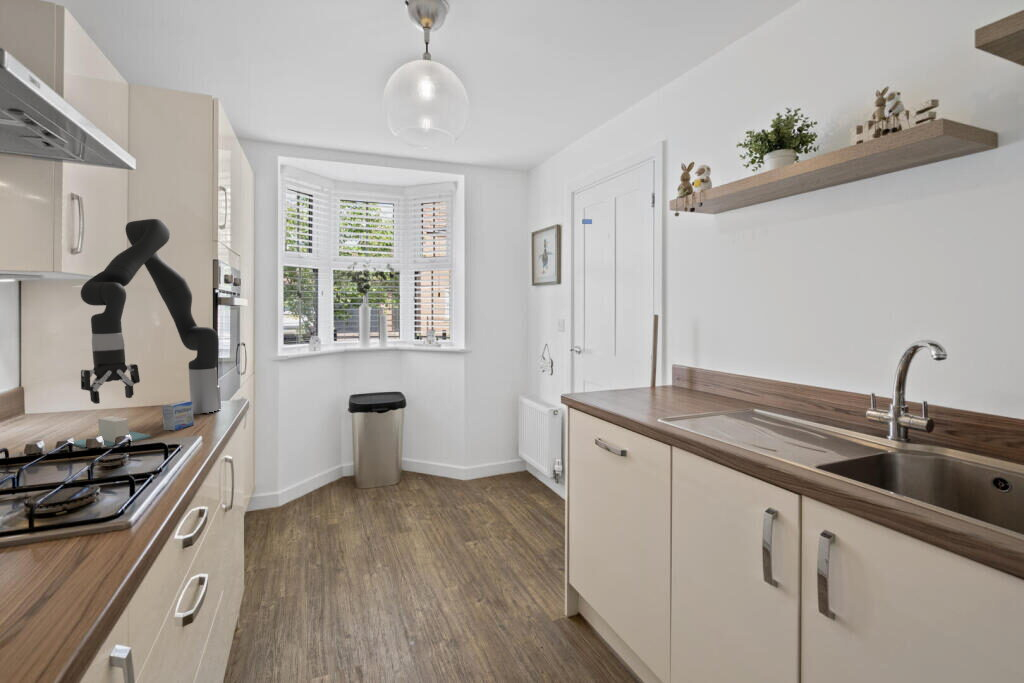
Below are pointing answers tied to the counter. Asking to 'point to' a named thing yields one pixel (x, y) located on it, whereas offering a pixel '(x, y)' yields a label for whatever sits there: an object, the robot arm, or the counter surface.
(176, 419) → the medicine box
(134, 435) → the mat
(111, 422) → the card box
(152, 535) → the counter surface
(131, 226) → the robot arm
